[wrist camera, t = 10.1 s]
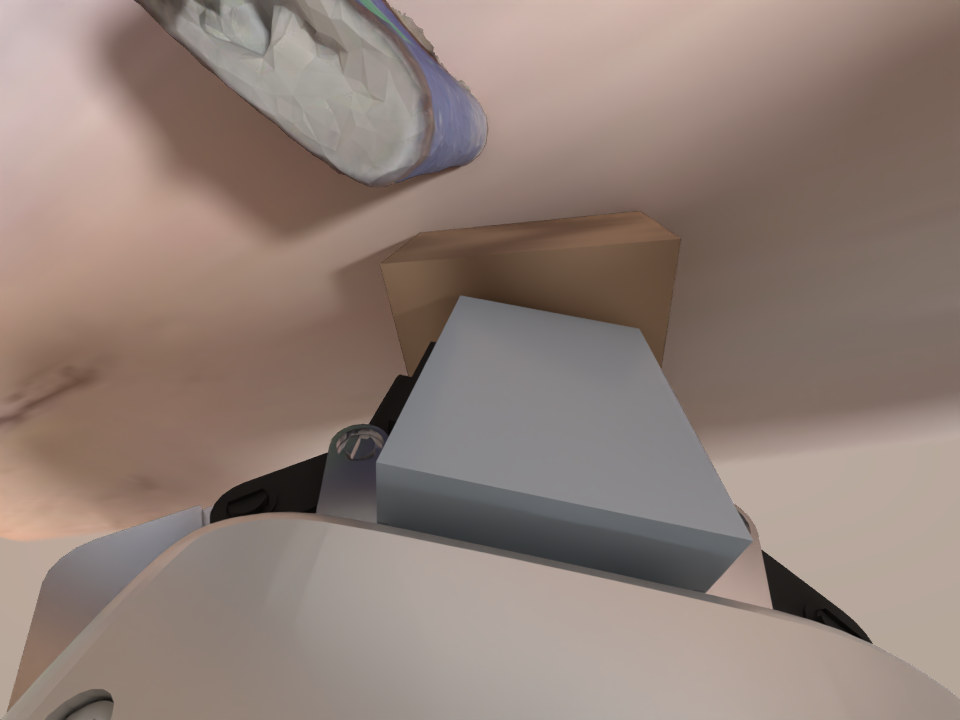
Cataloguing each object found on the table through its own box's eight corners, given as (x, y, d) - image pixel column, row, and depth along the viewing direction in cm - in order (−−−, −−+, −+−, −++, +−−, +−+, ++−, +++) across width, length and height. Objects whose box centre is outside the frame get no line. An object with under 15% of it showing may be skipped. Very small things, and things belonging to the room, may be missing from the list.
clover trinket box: (503, 129, 14) (430, 104, 4) (449, 189, 15) (305, 264, 6) (296, -137, 11) (-985, -1601, 2) (252, -36, 12) (-614, -571, 3)
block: (638, 209, 14) (680, 238, 10) (621, 394, 19) (646, 467, 15) (421, 231, 16) (380, 264, 12) (453, 397, 21) (431, 464, 16)
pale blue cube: (639, 328, 11) (752, 539, 5) (586, 457, 14) (620, 686, 8) (460, 295, 11) (376, 462, 6) (444, 428, 14) (378, 630, 8)
